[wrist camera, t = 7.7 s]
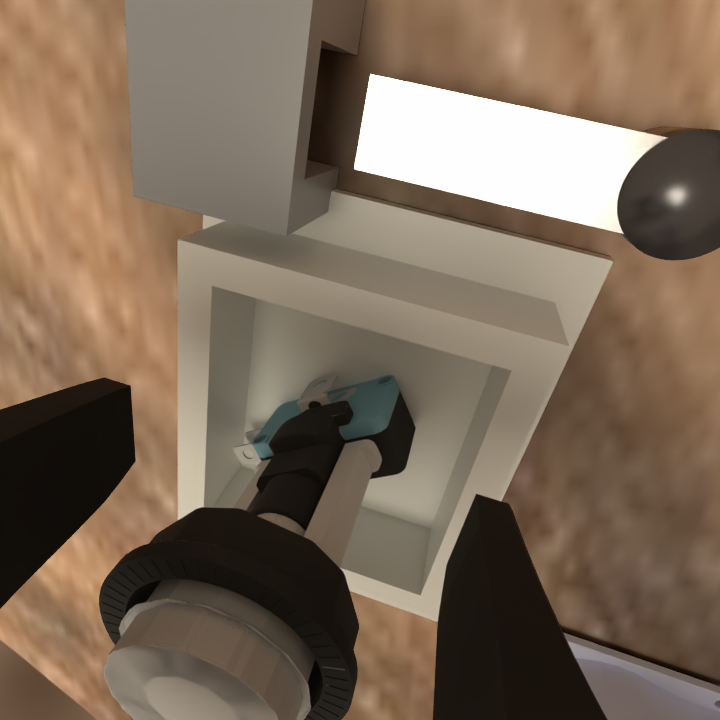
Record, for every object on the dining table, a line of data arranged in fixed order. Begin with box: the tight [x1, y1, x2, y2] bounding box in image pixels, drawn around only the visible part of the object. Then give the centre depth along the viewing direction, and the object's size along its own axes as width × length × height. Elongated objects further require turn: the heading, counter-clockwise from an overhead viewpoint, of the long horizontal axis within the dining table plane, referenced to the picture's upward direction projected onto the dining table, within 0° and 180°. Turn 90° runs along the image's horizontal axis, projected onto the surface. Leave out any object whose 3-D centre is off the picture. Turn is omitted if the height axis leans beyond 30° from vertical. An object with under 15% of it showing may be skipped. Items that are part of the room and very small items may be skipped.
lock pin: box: [354, 74, 720, 260], centre depth 11 cm, size 8×3×3 cm, turn 79°
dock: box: [125, 0, 614, 622], centre depth 15 cm, size 12×19×4 cm, turn 169°
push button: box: [99, 374, 416, 720], centre depth 13 cm, size 7×5×10 cm
